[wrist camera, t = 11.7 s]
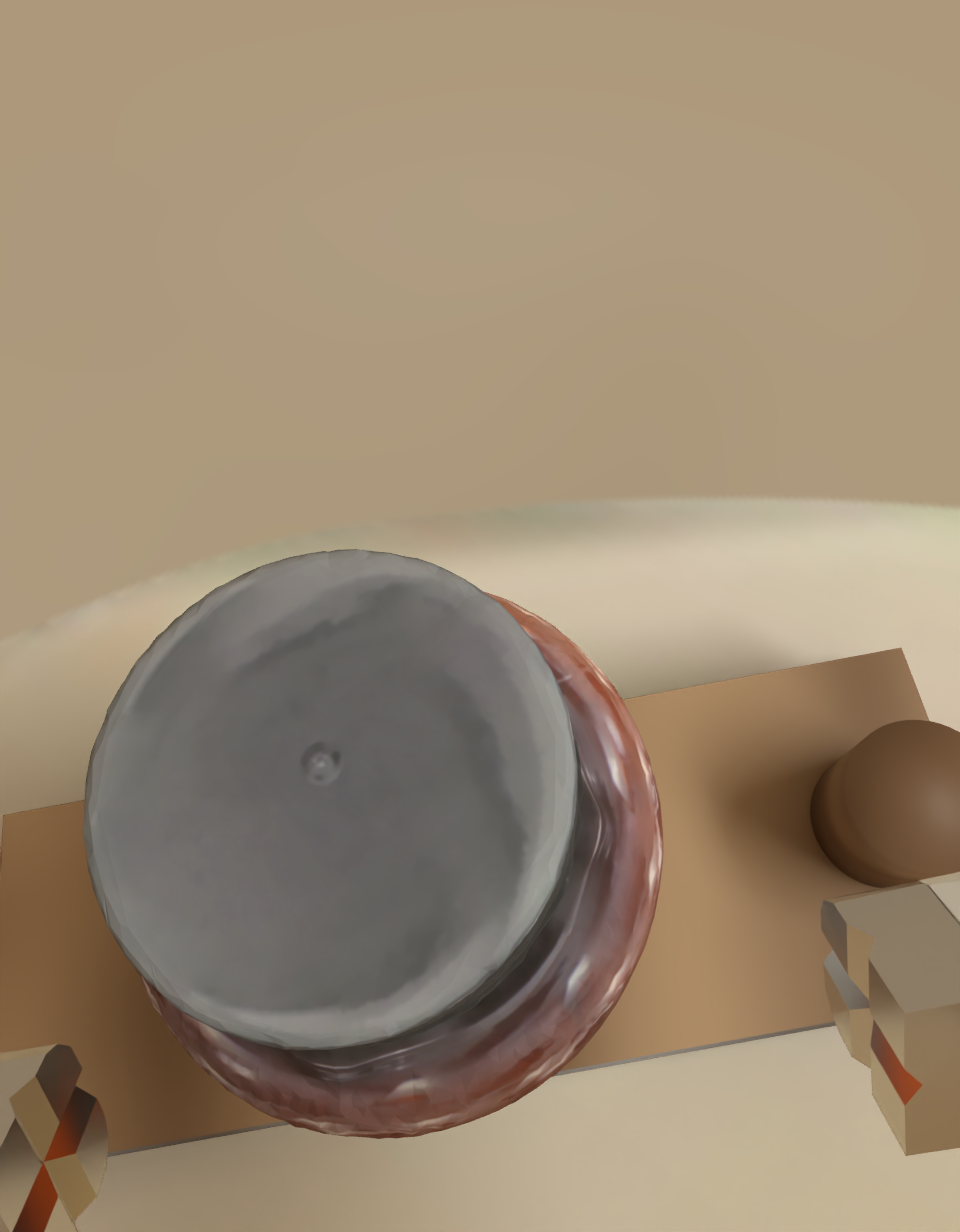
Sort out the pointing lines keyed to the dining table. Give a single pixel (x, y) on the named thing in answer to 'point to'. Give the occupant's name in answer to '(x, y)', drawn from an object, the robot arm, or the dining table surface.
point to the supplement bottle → (373, 842)
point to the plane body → (685, 913)
